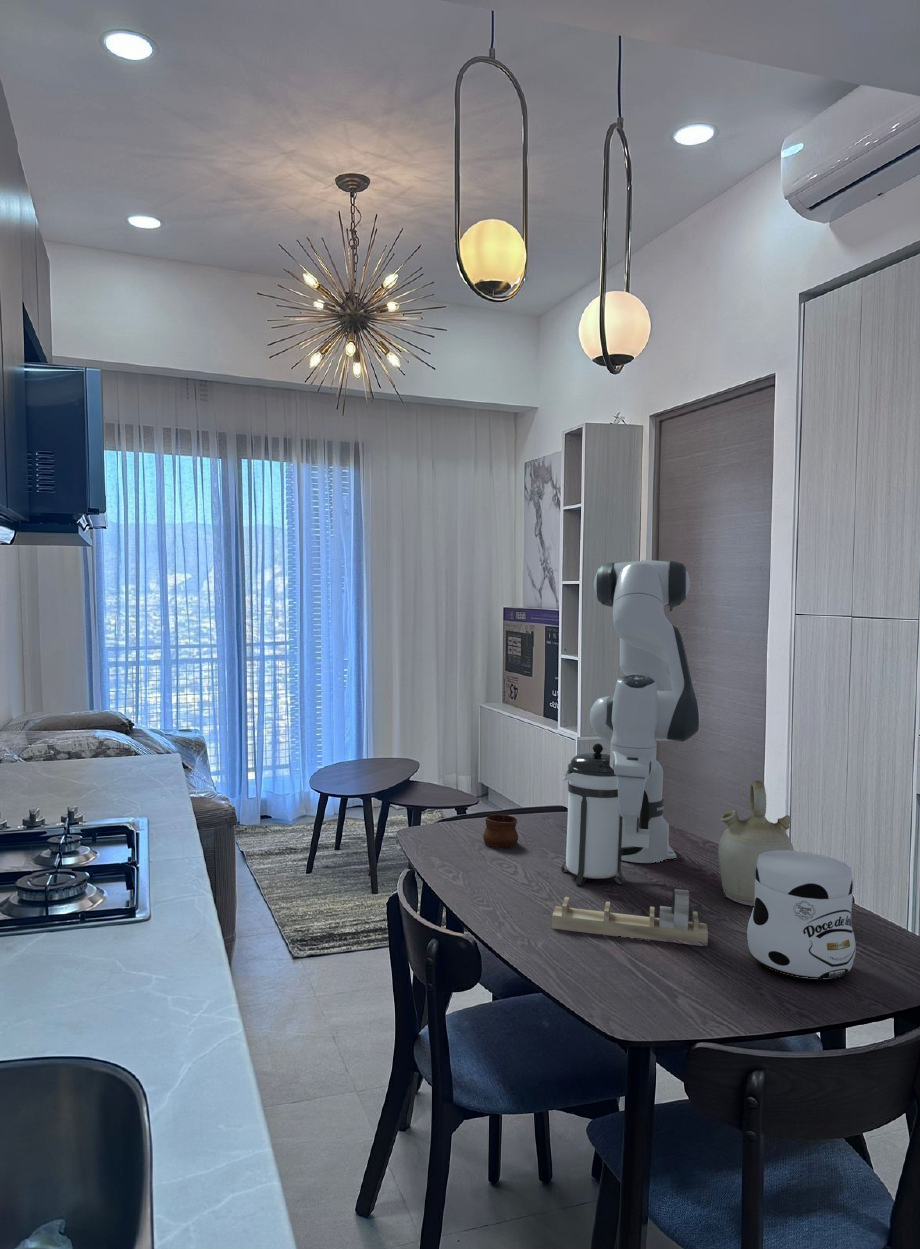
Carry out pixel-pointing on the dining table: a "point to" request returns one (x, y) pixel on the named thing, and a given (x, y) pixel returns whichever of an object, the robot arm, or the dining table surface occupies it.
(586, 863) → the coffee press
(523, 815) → the dining table surface
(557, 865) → the dining table surface
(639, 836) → the grey block
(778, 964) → the milk container
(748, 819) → the jug
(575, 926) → the rail
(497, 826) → the ceramic pot
